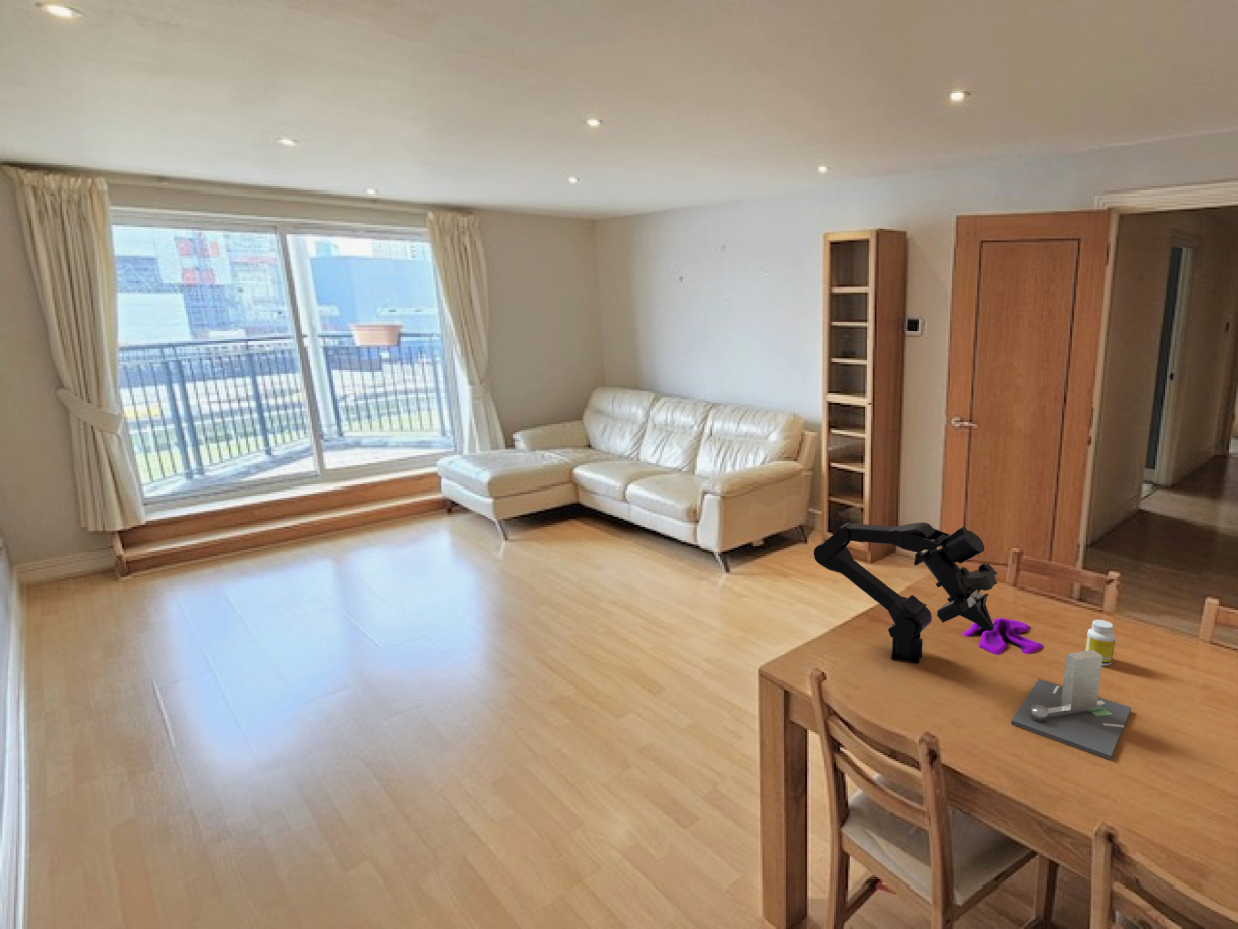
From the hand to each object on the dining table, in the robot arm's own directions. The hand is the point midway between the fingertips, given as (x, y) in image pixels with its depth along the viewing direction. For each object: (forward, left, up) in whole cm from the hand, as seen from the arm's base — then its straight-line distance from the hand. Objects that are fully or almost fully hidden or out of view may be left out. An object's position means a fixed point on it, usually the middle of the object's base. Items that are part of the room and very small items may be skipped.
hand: (992, 630), depth 148 cm
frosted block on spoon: (+14, -9, -12) cm, 21 cm away
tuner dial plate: (+15, -9, -14) cm, 22 cm away
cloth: (+3, +24, -14) cm, 28 cm away
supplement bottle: (+24, +19, -14) cm, 33 cm away
